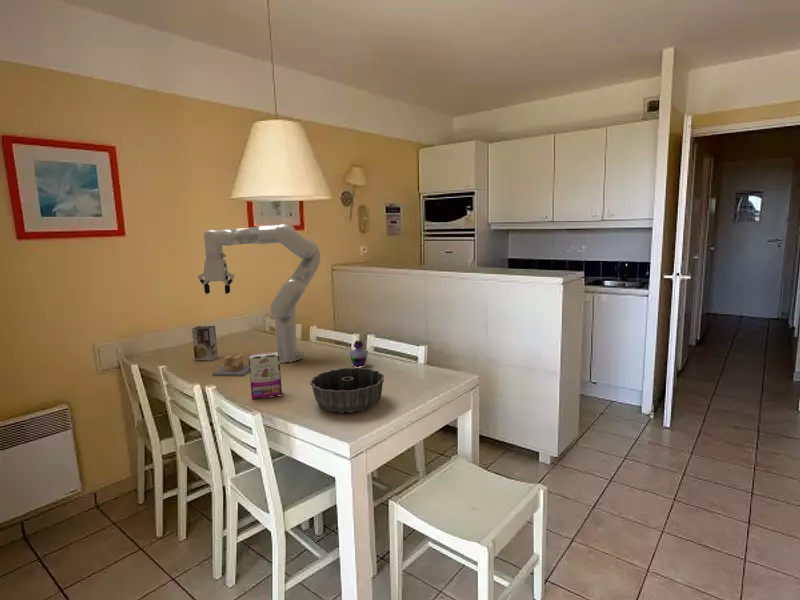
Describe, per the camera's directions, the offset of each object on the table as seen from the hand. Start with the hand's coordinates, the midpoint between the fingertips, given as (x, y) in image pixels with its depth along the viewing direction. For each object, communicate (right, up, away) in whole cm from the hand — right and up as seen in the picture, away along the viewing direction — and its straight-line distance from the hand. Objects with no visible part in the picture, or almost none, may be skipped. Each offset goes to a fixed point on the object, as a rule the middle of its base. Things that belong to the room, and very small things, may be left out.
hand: (217, 293), depth 220 cm
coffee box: (-10, -32, +11) cm, 36 cm away
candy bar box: (+35, -40, -40) cm, 66 cm away
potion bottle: (+67, -34, -6) cm, 75 cm away
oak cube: (+11, -34, -10) cm, 37 cm away
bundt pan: (+67, -41, -50) cm, 93 cm away
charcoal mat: (+11, -35, -9) cm, 38 cm away
